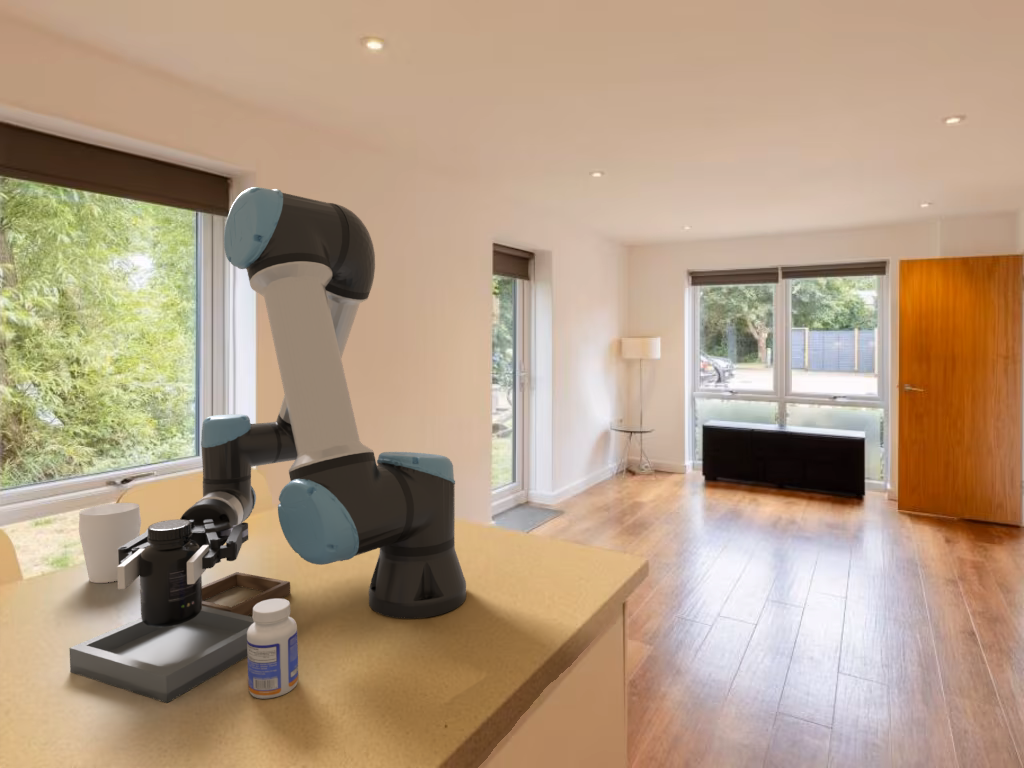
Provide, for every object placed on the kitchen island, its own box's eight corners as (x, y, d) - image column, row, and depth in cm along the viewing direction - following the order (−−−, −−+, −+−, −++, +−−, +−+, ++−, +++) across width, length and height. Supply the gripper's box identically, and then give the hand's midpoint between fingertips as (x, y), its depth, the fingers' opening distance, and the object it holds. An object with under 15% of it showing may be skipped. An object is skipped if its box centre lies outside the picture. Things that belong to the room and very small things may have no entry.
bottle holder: (290, 594, 96) (290, 581, 96) (230, 623, 85) (230, 610, 85) (237, 583, 101) (236, 572, 101) (174, 610, 90) (174, 597, 90)
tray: (270, 642, 80) (270, 620, 80) (167, 702, 66) (166, 676, 66) (181, 621, 86) (180, 601, 86) (70, 671, 73) (69, 647, 72)
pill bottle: (283, 669, 73) (281, 591, 72) (307, 685, 69) (305, 603, 69) (239, 689, 69) (236, 606, 68) (263, 706, 65) (260, 619, 65)
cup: (154, 568, 108) (152, 502, 108) (116, 587, 100) (114, 516, 99) (108, 566, 109) (106, 502, 109) (67, 585, 100) (64, 515, 100)
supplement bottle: (129, 621, 75) (126, 527, 74) (181, 601, 81) (178, 514, 80) (162, 633, 72) (159, 535, 71) (214, 611, 78) (212, 520, 77)
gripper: (278, 541, 96) (245, 599, 73) (142, 549, 91) (63, 613, 69) (277, 495, 95) (244, 539, 73) (141, 501, 91) (60, 549, 69)
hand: (156, 575), depth 71 cm, fingers closed on supplement bottle, 7 cm apart
